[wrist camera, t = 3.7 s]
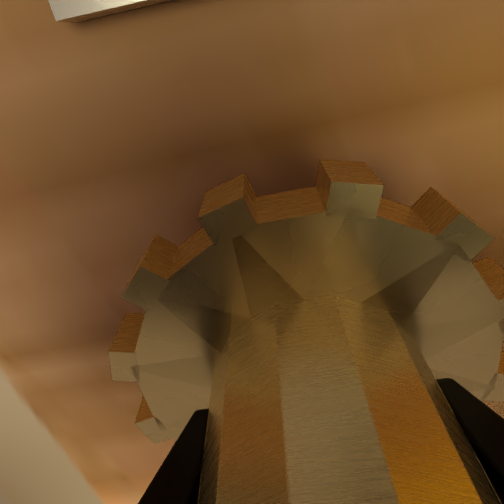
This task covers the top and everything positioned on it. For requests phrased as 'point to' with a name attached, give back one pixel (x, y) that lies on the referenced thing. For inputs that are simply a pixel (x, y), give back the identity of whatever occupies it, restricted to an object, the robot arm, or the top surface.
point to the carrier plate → (93, 8)
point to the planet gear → (319, 343)
